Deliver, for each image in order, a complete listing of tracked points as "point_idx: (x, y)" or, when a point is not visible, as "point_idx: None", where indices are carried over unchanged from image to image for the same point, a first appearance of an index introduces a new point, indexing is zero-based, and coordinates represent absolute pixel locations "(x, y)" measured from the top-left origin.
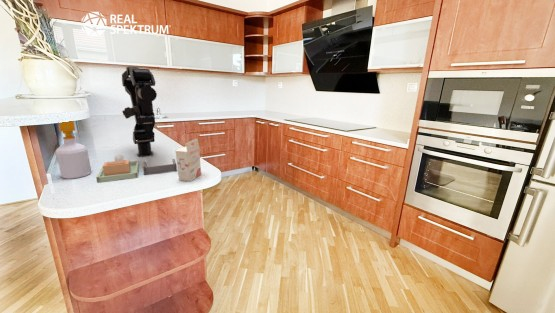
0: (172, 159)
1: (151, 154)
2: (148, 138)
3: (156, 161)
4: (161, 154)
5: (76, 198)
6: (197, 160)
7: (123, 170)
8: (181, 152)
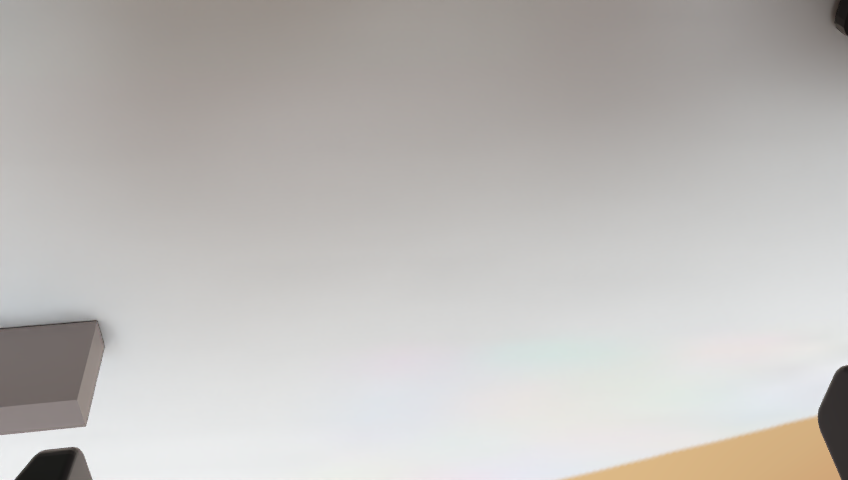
0: (46, 404)
1: (844, 19)
2: (41, 471)
3: (412, 101)
4: (798, 159)
5: None
6: None
7: None
8: None
